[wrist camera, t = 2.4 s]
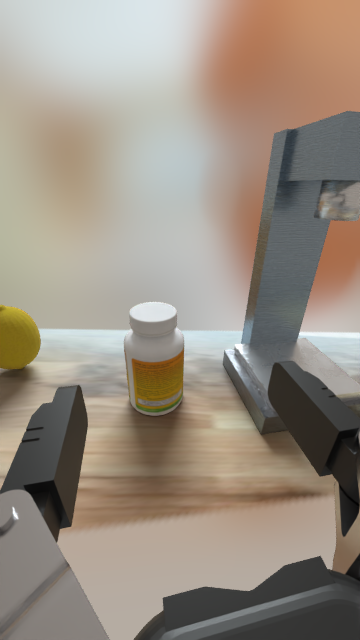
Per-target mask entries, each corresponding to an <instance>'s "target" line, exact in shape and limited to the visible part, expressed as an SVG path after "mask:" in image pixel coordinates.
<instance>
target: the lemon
mask: <svg viewBox="0 0 360 640" xmlns="http://www.w3.org/2000/svg"><path fill="white" fill-rule="evenodd" d="M40 344H41V340H40V334H39V330H38V328H37V326H36V324H35V322H34V321H33V319H32V318H31V317H30V316H29V315H28V314H27V313H26V312H24V311H23V310H20V309H18V308H15V307H6V306H4V305H0V368H2V369H22V368H24V367H25V366H26V365H27V364H29V363H30V362H32V361H33V360H34V358H35V357H36V356H37V354H38V352H39V349H40Z"/></svg>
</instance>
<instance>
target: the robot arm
mask: <svg viewBox="0 0 360 640" xmlns="http://www.w3.org/2000/svg"><path fill="white" fill-rule="evenodd" d="M268 398H269V401H270V403H271V405H272V406H273V408H274V409H275V411H276V412H277V414H278V415H279V417H280V418H281V420H282V421H283V423H284V424H285V426H286V427H287V429H288V430H289V432H290V433H291V435H292V436H293V437H294V439H295V440H296V442H297V443H298V445H299V446H300V448H301V449H302V451H303V452H304V454H305V455H306V457H307V458H308V460H309V461H310V463H311V464H312V466H313V467H314V469H315V470H316V472H317V473H318V475H319V476H325V475H330V474H333V476H334V477H335V479H336V481H335V484H334V492H335V514H336V536H337V537H336V539H337V540H336V550H335V554H334V559H333V569H332V570H330V569H327V568H326V566H325V564H324V562H323V560H322V558H321V557H320V556H319V557H315V558H311V559H307V560H303V561H300V562H296V563H292V564H288V565H285V566H283V567H282V568H281V569H280V570H278V571H277V572H276V573H274V574H273V575H272V576H270V577H269V578H268V579H267V580H265V581H264V582H263V583H262V584H260V585H259V586H258V587H256V588H255V589H253V590H251V591H240V590H230V589H221V588H212V587H202V588H198V589H194V590H190V591H187V592H183V593H179V594H175V595H172V596H168V597H164V598H163V606H164V610H163V611H162V612H161V613H159V614H158V615H156V616H155V617H154V618H153V619H152V620H151V621H149V622H148V623H147V624H146V625H145V626H144V627H143V629H142V630H141V631H140V632H139V633H138V635H137V636H136V637H135V638H134V640H360V418H359V417H358V416H357V415H356V414H355V413H354V412H353V411H352V410H351V409H350V408H349V407H347V406H346V405H345V404H344V403H343V402H342V401H341V400H340V399H339V398H338V397H336V395H335V394H334V393H333V392H332V391H331V390H330V389H328V387H327V386H326V385H325V384H324V383H323V382H322V381H321V380H320V379H319V378H317V377H316V376H314V375H312V374H311V373H309V372H307V371H303V370H302V369H301V368H300V367H299V365H298V364H297V363H295V362H294V361H284V362H276V363H274V364H273V367H272V371H271V376H270V381H269V385H268ZM87 427H88V419H87V412H86V407H85V403H84V399H83V394H82V390H81V387H80V385H76V386H68V387H59V388H58V389H57V391H56V393H55V396H54V399H53V402H52V403H45V404H42V405H41V406H40V407H39V409H38V410H37V411H36V412H35V413H34V414H33V415H32V417H31V419H30V422H29V424H28V426H27V429H26V432H25V433H24V436H23V438H22V443H20V445H19V448H18V450H17V452H16V455H15V457H14V459H13V462H12V464H11V467H10V469H9V471H8V474H7V476H6V478H5V481H4V483H3V486H2V488H1V490H0V640H110V639H109V637H108V635H107V634H106V632H105V630H104V628H103V626H102V624H101V622H100V621H99V619H98V617H97V615H96V613H95V612H94V609H93V608H92V606H91V604H90V602H89V600H88V598H87V596H86V595H85V593H84V591H83V589H82V588H81V585H80V583H79V582H78V580H77V578H76V576H75V574H74V573H73V571H72V569H71V567H70V565H69V564H68V563H67V561H66V559H65V558H64V556H63V554H62V552H61V550H60V549H59V547H58V545H57V541H58V536H59V531H60V529H62V528H67V527H71V525H72V519H73V513H74V507H75V501H76V495H77V489H78V483H79V477H80V471H81V465H82V459H83V453H84V447H85V441H86V435H87Z"/></svg>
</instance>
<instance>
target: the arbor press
mask: <svg viewBox="0 0 360 640" xmlns="http://www.w3.org/2000/svg"><path fill="white" fill-rule="evenodd" d="M359 215H360V112H352V111H346V112H343V113H340V114H338V115H334V116H331V117H329V118H326V119H323V120H320V121H317V122H314V123H311V124H308V125H305V126H302V127H299V128H296V129H286V130H283V131H281V132H278V133H275V134H274V139H273V144H272V151H271V157H270V164H269V170H268V176H267V182H266V189H265V195H264V202H263V208H262V215H261V221H260V227H259V234H258V240H257V246H256V252H255V259H254V265H253V271H252V278H251V284H250V291H249V297H248V304H247V310H246V316H245V323H244V329H243V335H242V341H241V344H237V345H235V349H231V350H224V359H223V365H224V367H225V369H226V370H227V372H228V374H229V376H230V378H231V380H232V382H233V383H234V385H235V387H236V389H237V391H238V393H239V395H240V396H241V398H242V400H243V402H244V404H245V406H246V408H247V409H248V411H249V413H250V415H251V417H252V419H253V420H254V422H255V424H256V426H257V428H258V430H259V432H260V433H261V434H266V433H272V432H278V431H285V430H288V429H287V427H286V426H285V424H284V423H283V421H282V420H281V418H280V417H279V415H278V414H277V412H276V411H275V409H274V408H273V406H272V405H271V403H270V401H269V398H268V385H269V381H270V376H271V371H272V367H273V364H274V363H276V362H284V361H294V362H295V363H297V364H298V365H299V367H300V368H301V369H302V370H303V371H307V372H309V373H311V374H312V375H314V376H316V377H317V378H319V379H320V380H321V381H322V382H323V383H324V384H325V385H326V386H327V387H328V389H330V390H331V391H332V392H333V393H334V394H335V395H336V397H338V398H339V399H340V400H341V401H342V402H343V403H344V404H345V405H346V406H347V407H349V408H350V409H351V410H352V411H353V412H354V413H355V414H356V415H357V416H358V417H359V418H360V384H359V383H357V382H356V381H355V380H354V379H353V378H352V377H350V376H349V375H348V374H347V373H346V372H344V371H343V370H342V369H341V368H340V367H339V366H337V365H336V364H335V363H334V362H333V361H332V360H330V359H329V358H328V357H327V356H326V355H325V354H323V353H322V352H321V351H320V350H319V349H318V348H316V347H315V346H314V345H313V344H312V343H311V342H309V341H308V340H307V339H306V338H302V339H297V338H298V335H299V331H300V327H301V324H302V320H303V317H304V313H305V310H306V306H307V302H308V299H309V295H310V292H311V288H312V285H313V281H314V277H315V274H316V270H317V267H318V263H319V259H320V256H321V252H322V249H323V245H324V242H325V238H326V234H327V231H328V227H329V224H330V220H340V221H356V220H358V218H359Z"/></svg>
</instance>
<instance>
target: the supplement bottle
mask: <svg viewBox="0 0 360 640" xmlns="http://www.w3.org/2000/svg"><path fill="white" fill-rule="evenodd" d="M129 316H130V326H131V330H129V332H128V333H127V334H126V336H125V339H124V352H125V361H126V370H127V380H128V390H129V398H130V402H131V404H132V406H133V407H134V408H135V409H136V410H137V411H139V412H140V413H143V414H146V415H151V416H159V415H164V414H167V413H169V412H171V411H173V410H174V409H175V408H176V407H177V406H178V405H179V404H180V402H181V400H182V396H183V367H184V366H183V364H184V337H183V334H182V333H181V331H180V330H179V329H178V328H177V327H176V326H177V312H176V309H175V308H174V307H173V306H171V305H169V304H166V303H161V302H147V303H142V304H139V305H136V306H135V307H133V308H132V309H131V310H130V313H129Z"/></svg>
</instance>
